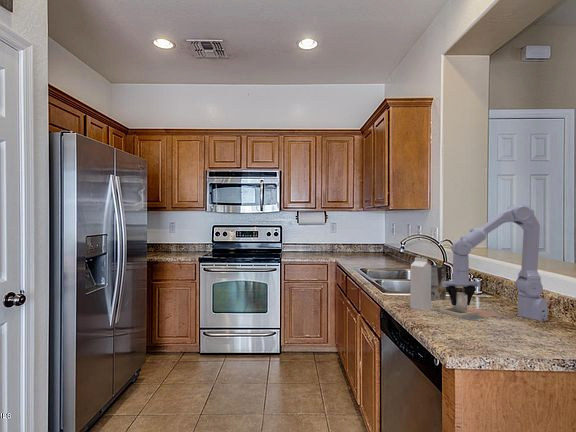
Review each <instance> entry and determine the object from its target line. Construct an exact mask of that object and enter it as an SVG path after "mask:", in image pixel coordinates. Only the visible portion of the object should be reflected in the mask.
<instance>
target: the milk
mask: <svg viewBox="0 0 576 432" xmlns="http://www.w3.org/2000/svg"><path fill="white" fill-rule="evenodd" d="M409 285H410V295H409V296H410V298H409V299H410V303H409V305H410V309H414V310H416V311H417V310H418V311H422V312H423V311H428V310H432V301H431V264H430V263H429V262H428V258H425V257H414V261H413V262H412V263H411V264H410V284H409Z"/></svg>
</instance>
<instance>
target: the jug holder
mask: <svg viewBox="0 0 576 432" xmlns="http://www.w3.org/2000/svg"><path fill="white" fill-rule="evenodd" d="M432 311H434V312H437V313H441V314H445V315H448V316H451V317H456V318H458V319H462V320H467V321H474V320H479V319H486V318H491V317H495V316H496V317H497V316H502V314H501V313H497V312H492V311H487V310H483V309H480V308H476V307H471V306H467V310H466V311H460V310H455V309H454V306H448V307H442V308H436V309H435V308H433V309H432Z"/></svg>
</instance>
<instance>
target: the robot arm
mask: <svg viewBox="0 0 576 432" xmlns="http://www.w3.org/2000/svg"><path fill="white" fill-rule="evenodd" d="M505 223H514V224H517V226H518V227H520V228H521V229H522V231H523V236H522V238H523V239H522V252H521V253H522V254H521V268H520V271H519V272H518V275H517V279H516V280H515V284H514V285H515V289H516V290H517V291H518V292H517V316H519V317H521V318H525V319H526V318H527V319H532V320H536V323H541V322H547V321H550V319H549V317H548V314H549V309H548V308H549V302H548V300H547V299H546V298H544V297H541V294H543V292H544V287H543V284H542V279H541V278H542V277H541V275H540V274H539V272H538V269H539V268H538V267H539V266H538V265H539V253H540V252H539V250H540V249H539V247H540V232H541V231H540V229H541V225H540V223H539V220H538V218H537V217H536V215H535V211H534V210H533V209H532V208H531V207H530V206H528V205H525V204H520V205H510V206H508V207H507V208H505V209H503V210H501V211H500V212H499V213H498V214H497V215H495V216H494V217H492V218H491V219H490V220H489V221H488V222H487V223H485V224H484V225H482V226H481V227H474V228H470V229H469V232H467V233H466V234H465V235H464V236H460V237H459V239H460V240H459V239H458V240H455V241H454V242H453V243H452V245H451V247H450V250H451V251H452V255H453V257H452V280H448V281H447V280H446V281H443V282H442V286H443V287H446V292H447V293H448V296H449V300H450V299H451V302H450V303H451V305H452V306H453V307H454V306H456V295H457V293H458V287H461V288H462V287H463V291H464V292H463V293H464V294H467V306H470V305H471V301H472V298H473V295H474V294H475V292H476V290H477V288H479V287H480V281H477V280H476V281H475V280H469V274H470V273H469V271H470V269H469V268H470V267H469V264H470V263H469V262H470V261H469V260H470V259H469V254H470V253H471V252H472V249H474V248H476V247H477V246H479V245H480V244H481V243H483V241H484V242H485V240H486V239H487V235H488V234H489V233H491V232H493V231H494V230H496V229H497V228H499V227H501V226H502V225H503V224H505ZM456 287H457V288H456Z"/></svg>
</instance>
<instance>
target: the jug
mask: <svg viewBox="0 0 576 432" xmlns="http://www.w3.org/2000/svg"><path fill="white" fill-rule="evenodd" d="M449 302H450V303H451V299H450V298H449ZM453 307H454V309H455V310H460V311H466V310H467V307H468V305H467V294H465V293H464V292H457V295H456V306H454V305H453Z"/></svg>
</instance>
